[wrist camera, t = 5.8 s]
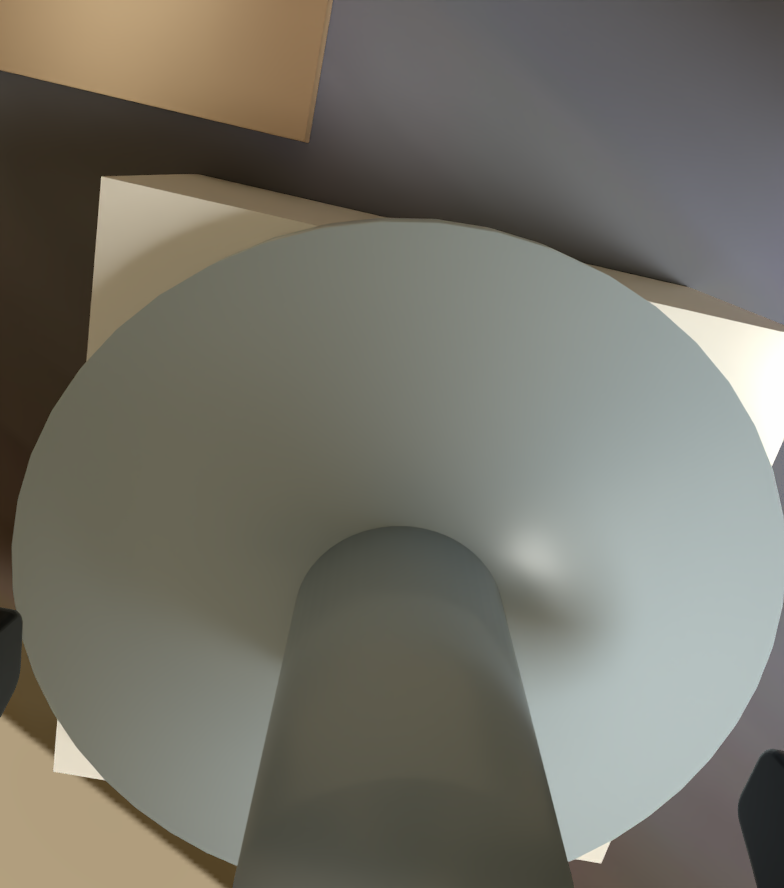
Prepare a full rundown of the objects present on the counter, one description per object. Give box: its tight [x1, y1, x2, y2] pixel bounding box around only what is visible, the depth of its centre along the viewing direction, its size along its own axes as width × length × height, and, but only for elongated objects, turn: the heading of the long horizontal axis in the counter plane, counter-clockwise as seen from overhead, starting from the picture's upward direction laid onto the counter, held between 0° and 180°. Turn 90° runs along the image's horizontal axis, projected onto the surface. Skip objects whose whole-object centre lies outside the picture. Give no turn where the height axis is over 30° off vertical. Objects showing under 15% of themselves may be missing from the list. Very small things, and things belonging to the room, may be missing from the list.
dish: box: [53, 174, 784, 863], centre depth 14 cm, size 10×10×5 cm
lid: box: [12, 218, 784, 888], centre depth 9 cm, size 11×11×6 cm
